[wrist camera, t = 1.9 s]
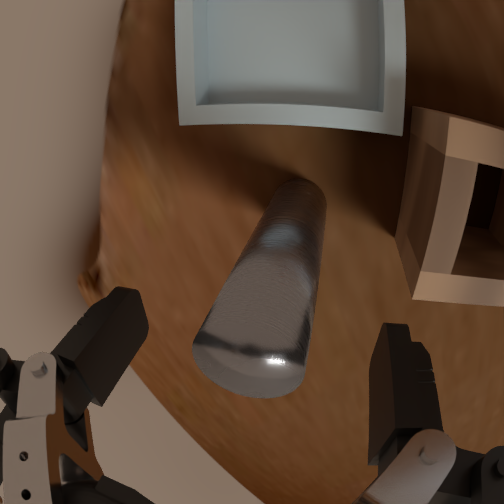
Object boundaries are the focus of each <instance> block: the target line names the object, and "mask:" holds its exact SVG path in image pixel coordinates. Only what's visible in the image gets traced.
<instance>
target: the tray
mask: <svg viewBox="0 0 504 504" xmlns="http://www.w3.org/2000/svg"><path fill="white" fill-rule="evenodd" d="M175 49H176V76H177V96H178V113H179V126H181V125H203V124H278V125H300V126H316V127H329V128H340V129H350V130H360V131H368V132H376V133H384V134H391V135H397V136H402V135H403V122H404V107H405V85H406V29H405V9H404V0H175Z"/></svg>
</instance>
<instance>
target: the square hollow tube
mask: <svg viewBox="0 0 504 504" xmlns="http://www.w3.org/2000/svg"><path fill="white" fill-rule="evenodd" d="M478 163H482V164H486V165H490V166H494V167H498V168H502V169H503V170H502V175H501V180H500V185H499V190H498V194H497V199H496V203H495V207H494V211H493V215H492V219H491V223H490V226H489V229H484V228H478V227H472V226H466V225H465V224H466V220H467V216H468V212H469V207H470V203H471V198H472V194H473V189H474V184H475V179H476V173H477V167H478ZM395 241H396V244H397V248H398V251H399V254H400V257H401V261H402V264H403V268H404V271H405V275H406V278H407V282H408V286H409V289H410V293H411V297H412V299H416V300H427V301H438V302H450V303H462V304H475V305H489V306H503V307H504V128H502V127H499V126H495V125H492V124H489V123H485V122H482V121H478V120H474V119H471V118H467V117H463V116H459V115H455V114H450V113H446V112H442V111H437V110H432V109H427V108H422V107H417V106H412V116H411V129H410V140H409V149H408V158H407V166H406V174H405V181H404V188H403V195H402V201H401V207H400V213H399V218H398V224H397V229H396V234H395Z"/></svg>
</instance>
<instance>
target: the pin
mask: <svg viewBox="0 0 504 504" xmlns="http://www.w3.org/2000/svg"><path fill="white" fill-rule="evenodd" d="M326 208H327V203H326V198H325V196H324V193H323V192H322V190H321V189H320V188H319V187H318V186H317V185H316V184H314V183H312V182H311V181H308V180H305V179H292V180H289V181H286V182H285V183H283V184H282V185H280V186H279V187H278V189H277V190H276V192H275V194H274V195H273V197H272V199H271V201H270V203H269V204H268V206H267V208H266V210H265V212H264V213H263V215H262V217H261V219H260V221H259V222H258V224H257V226H256V228H255V230H254V231H253V233H252V235H251V237H250V239H249V240H248V242H247V244H246V246H245V248H244V250H243V251H242V253H241V255H240V257H239V259H238V260H237V262H236V264H235V266H234V268H233V269H232V271H231V273H230V275H229V277H228V279H227V280H226V282H225V284H224V286H223V288H222V289H221V291H220V293H219V295H218V297H217V299H216V300H215V302H214V304H213V306H212V308H211V310H210V311H209V313H208V315H207V317H206V319H205V321H204V322H203V324H202V326H201V328H200V330H199V332H198V333H197V335H196V337H195V339H194V341H193V345H192V352H193V357H194V360H195V362H196V364H197V365H198V367H199V368H200V370H201V371H202V372H203V373H204V374H205V375H206V376H207V377H208V378H209V379H210V380H212V381H213V382H214V383H216V384H217V385H219V386H221V387H223V388H224V389H227V390H229V391H231V392H234V393H236V394H240V395H243V396H247V397H253V398H274V397H279V396H283V395H286V394H288V393H290V392H292V391H293V390H295V389H296V388H297V387H298V386H299V385H300V384H301V383H302V381H303V379H304V375H305V370H306V364H307V358H308V352H309V346H310V339H311V333H312V326H313V320H314V313H315V306H316V298H317V291H318V283H319V275H320V267H321V258H322V249H323V240H324V230H325V219H326Z"/></svg>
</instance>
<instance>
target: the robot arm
mask: <svg viewBox="0 0 504 504" xmlns="http://www.w3.org/2000/svg"><path fill="white" fill-rule="evenodd" d="M148 329H149V325H148V320H147V317H146V313H145V310H144V306H143V303H142V299H141V296H140V293H139V291H138V290H136V289H130V288H125V287H120V286H118V287H115V288H114V289H113V290H112V291H111V293H110V294H109V295H108V296H107V297H106V298H103V299H101V300H100V301H98V302H97V303H95V304H93V305H92V306H91V307H90V308H89V309H88V310H87V312H86V313H85V314H84V317H81V318H80V319H79V321H78V322H77V325H74V326H73V328H72V329H71V330H70V331H69V332H68V333H67V335H66V336H65V337H64V338H63V339H62V340H61V341H60V343H59V344H58V345H57V346H56V347H55V349H54V350H53V351H52V352H51V353H46V352H40V353H37V354H34V355H32V356H31V357H29V358H28V359H27V360H26V361H16V360H11V358H10V356H9V355H8V353H7V352H6V351H5V349H3V348H0V398H1V399H2V400H3V401H4V403H6V406H5V407H4V409H3V411H2V412H1V413H0V485H1V483H2V481H3V490H4V504H154V503H153V502H152V501H150V500H148V499H147V498H146V497H144V496H143V495H142V494H140V493H139V492H137V491H136V490H135V489H132V488H130V487H128V486H125V485H123V484H121V483H119V482H117V481H115V480H112V479H110V478H108V477H106V476H104V474H103V471H102V469H101V467H100V465H99V464H98V462H97V459H96V457H95V452H94V446H93V439H92V432H91V424H90V416H89V410H88V409H87V406H88V404H89V403H90V402H92V403H94V404H96V405H99V406H101V407H102V406H103V404H104V403H105V401H106V400H107V398H108V396H109V395H110V393H111V391H112V390H113V389H114V387H115V385H116V384H117V382H118V381H119V379H120V377H121V376H122V374H123V373H124V371H125V370H126V368H127V367H128V365H129V364H130V362H131V361H132V359H133V358H134V356H135V354H136V353H137V351H138V350H139V348H140V347H141V345H142V344H143V342H144V341H145V339H146V337H147V334H148ZM432 370H433V368H432V363H431V358H430V354H429V353H428V352H427V350H426V349H425V347H424V346H423V344H422V343H421V342H411V337H410V332H409V327H408V325H407V324H395V323H383V325H382V327H381V330H380V333H379V336H378V339H377V342H376V345H375V348H374V351H373V354H372V357H371V361H370V368H369V449H368V465H378V476H377V478H376V479H375V480H374V481H373V482H372V483H371V484H370V485H369V486H368V487H367V488H366V489H365V490H364V492H363V493H362V494H361V495H360V496H359V497H358V498H357V499H356V500H355V501H354V502H353V503H352V504H504V446H498V447H495V448H493V449H491V450H490V451H489V452H488V453H486V454H481V453H476V452H472V451H468V450H464V449H460V448H458V447H456V446H455V444H454V442H453V440H452V439H451V438H450V437H449V436H448V435H447V434H446V433H444V430H443V427H442V420H441V413H440V407H439V400H438V394H437V389H436V384H435V378H434V373H433V372H432ZM0 504H2V498H1V496H0Z"/></svg>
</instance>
